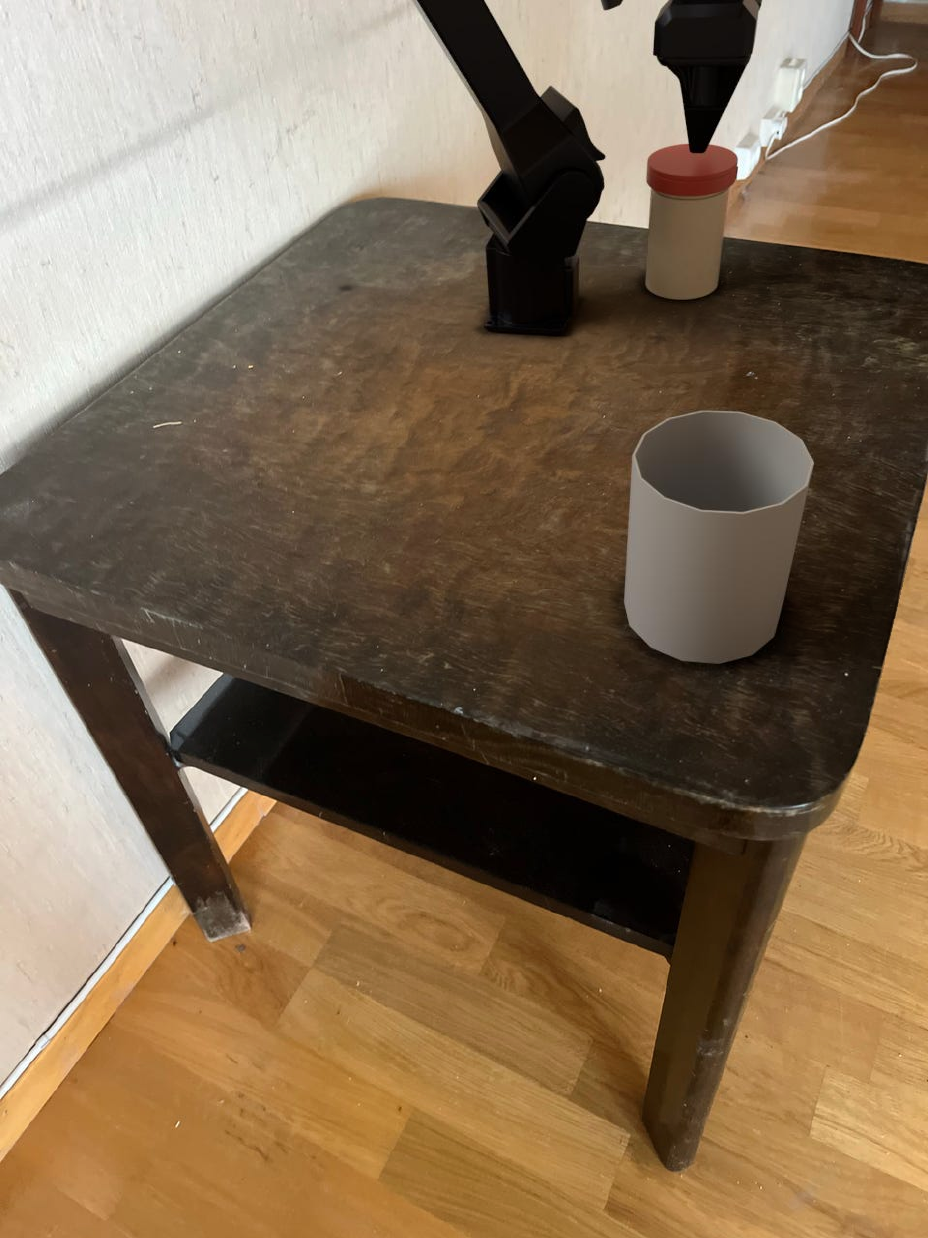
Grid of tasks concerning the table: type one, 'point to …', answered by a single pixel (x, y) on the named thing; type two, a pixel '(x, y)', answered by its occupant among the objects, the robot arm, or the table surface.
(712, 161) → the lid
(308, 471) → the table surface
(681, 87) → the robot arm
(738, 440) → the cup
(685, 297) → the jar
